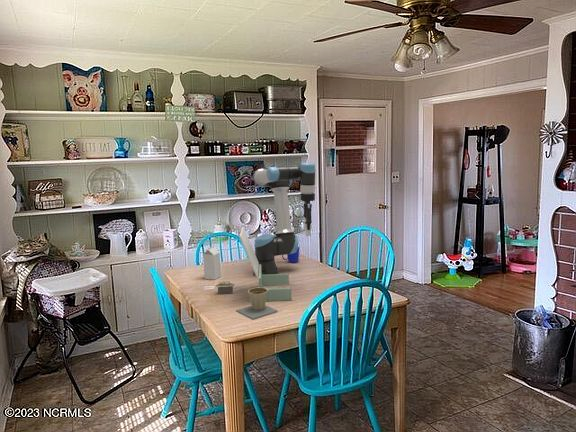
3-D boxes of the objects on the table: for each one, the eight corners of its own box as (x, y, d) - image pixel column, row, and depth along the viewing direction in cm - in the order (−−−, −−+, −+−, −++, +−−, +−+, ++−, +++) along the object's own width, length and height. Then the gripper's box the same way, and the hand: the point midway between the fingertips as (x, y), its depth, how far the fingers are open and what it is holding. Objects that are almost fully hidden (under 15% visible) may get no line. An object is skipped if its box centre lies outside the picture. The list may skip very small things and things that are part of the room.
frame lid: (243, 226, 241) (242, 227, 241) (240, 236, 215) (239, 236, 215) (258, 262, 245) (257, 263, 245) (257, 276, 219) (256, 277, 219)
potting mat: (236, 311, 209) (236, 310, 209) (260, 304, 217) (260, 302, 217) (253, 319, 198) (253, 318, 198) (277, 311, 207) (277, 310, 207)
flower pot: (265, 312, 205) (264, 294, 203) (245, 311, 207) (245, 293, 206) (270, 305, 214) (270, 288, 212) (252, 304, 216) (251, 287, 215)
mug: (281, 260, 298) (280, 246, 296) (298, 259, 299) (298, 245, 297) (282, 264, 290) (281, 249, 288) (300, 263, 291) (299, 248, 289)
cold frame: (288, 283, 248) (288, 263, 246) (291, 300, 222) (291, 277, 220) (259, 285, 247) (259, 264, 245) (259, 301, 221) (258, 278, 219)
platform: (209, 291, 241) (209, 279, 240) (242, 289, 242) (242, 277, 241) (207, 298, 229) (206, 286, 228) (242, 296, 230) (241, 284, 229)
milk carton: (220, 276, 266) (219, 245, 263) (215, 280, 259) (213, 248, 256) (210, 275, 268) (208, 245, 265) (204, 279, 261) (202, 247, 259)
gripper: (317, 196, 217) (316, 238, 221) (312, 189, 241) (312, 227, 245) (302, 196, 217) (301, 238, 221) (299, 189, 241) (298, 227, 245)
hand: (307, 232), depth 233 cm, fingers open, 13 cm apart
